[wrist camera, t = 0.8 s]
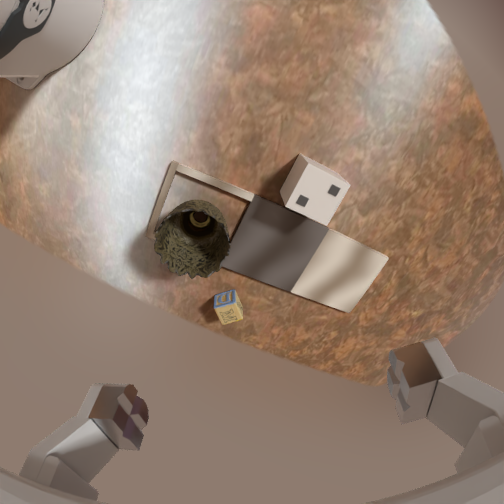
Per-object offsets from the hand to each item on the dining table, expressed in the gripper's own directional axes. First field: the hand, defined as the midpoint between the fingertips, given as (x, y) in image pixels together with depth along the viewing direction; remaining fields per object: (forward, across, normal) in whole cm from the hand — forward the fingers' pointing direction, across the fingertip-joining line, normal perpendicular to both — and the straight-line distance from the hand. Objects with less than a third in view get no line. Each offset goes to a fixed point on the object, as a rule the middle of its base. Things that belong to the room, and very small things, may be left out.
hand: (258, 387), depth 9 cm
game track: (+30, 0, +9) cm, 31 cm away
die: (+29, -5, +2) cm, 30 cm away
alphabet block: (+30, +8, +16) cm, 35 cm away
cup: (+29, +8, +3) cm, 30 cm away
